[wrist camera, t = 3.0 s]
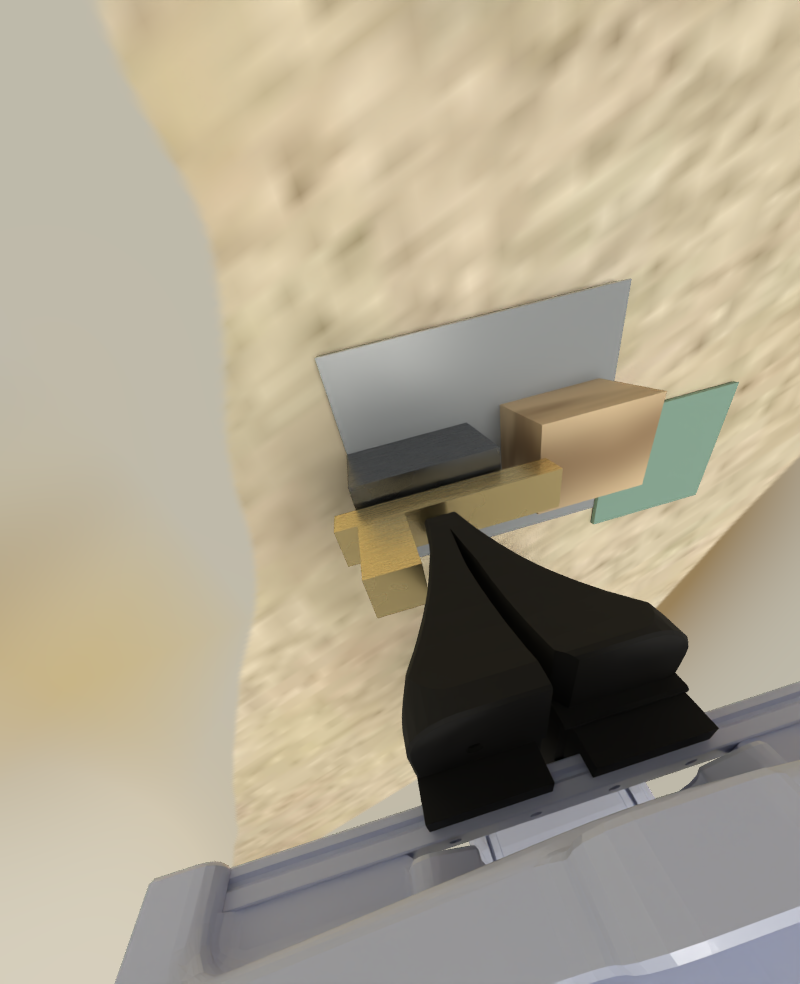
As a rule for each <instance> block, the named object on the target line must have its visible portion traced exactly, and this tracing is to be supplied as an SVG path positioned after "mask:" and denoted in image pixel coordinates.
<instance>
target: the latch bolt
mask: <svg viewBox="0 0 800 984" xmlns="http://www.w3.org/2000/svg"><path fill="white" fill-rule="evenodd" d="M562 471H563V468H561V467H560V466H558V465H556V464H555V463H553V462H552V461H550V460H549V459H547V458H543V459H539V460H536V461H532V462H528V463H525V464H521V465H518V466H514V467H510V468H507V469H503V470H500V471H496V472H492V473H489V474H485V475H482V476H478V477H474V478H471V479H467V480H464V481H460V482H456V483H453V484H449V485H446V486H442V487H438V488H435V489H431V490H428V491H424V492H420V493H417V494H413V495H410V496H406V497H402V498H399V499H395V500H392V501H388V502H384V503H381V504H377V505H374V506H370V507H366V508H363V509H359V510H356V511H352V512H348V513H345V514H341V515H338V516H335V519H334V534H335V536H336V538H337V541H338V543H339V545H340V548H341V550H342V553H343V555H344V557H345V560H346V562H347V564H348V567H350V566H353V565H357V564H360V563H361V571H362V581H363V584H364V586H365V589H366V591H367V594H368V596H369V598H370V601H371V603H372V606H373V608H374V611H375V613H376V616H377V618H380V617H384V616H387V615H390V614H394V613H397V612H401V611H404V610H407V609H411V608H414V607H417V606H421V605H424V604H425V602H426V597H427V589H428V587H427V583H426V579H425V575H424V571H423V566H422V562H421V560H420V557H419V554H418V551H417V548H416V547H419V546H423V545H426V544H429V543H428V538H427V534H426V529H425V524H424V522H425V520H426V519H429V518H432V517H436V516H440V515H443V514H447V513H450V512H454V511H455V512H456V513H458V514H459V515H460V516H462V517H463V518H464V519H465V520H467V521H468V522H469V523H470V524H472V525H473V526H475V527H476V528H477V529H482V528H486V527H489V526H493V525H496V524H500V523H503V522H507V521H510V520H514V519H517V518H521V517H524V516H528V515H531V514H535V513H538V512H541V511H545V510H548V509H552V508H555V507H559V503H560V492H561V482H562Z"/></svg>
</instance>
